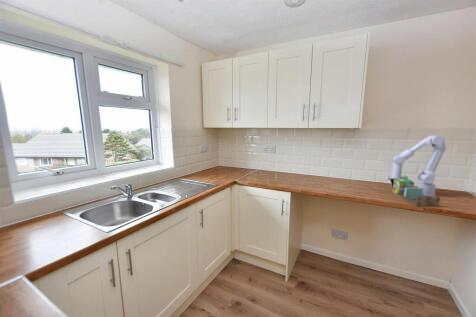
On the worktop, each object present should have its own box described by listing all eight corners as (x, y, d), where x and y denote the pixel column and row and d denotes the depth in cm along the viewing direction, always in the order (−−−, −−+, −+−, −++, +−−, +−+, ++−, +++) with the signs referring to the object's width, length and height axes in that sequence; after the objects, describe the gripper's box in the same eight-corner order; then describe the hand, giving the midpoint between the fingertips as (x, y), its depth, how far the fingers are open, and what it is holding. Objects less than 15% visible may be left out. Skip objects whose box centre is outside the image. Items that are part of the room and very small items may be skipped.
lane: (413, 195, 150) (414, 188, 149) (438, 206, 131) (440, 197, 130) (394, 195, 150) (395, 188, 149) (416, 206, 131) (418, 197, 130)
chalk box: (391, 192, 158) (394, 173, 155) (405, 193, 155) (408, 174, 153) (397, 196, 149) (400, 176, 146) (412, 197, 147) (415, 177, 144)
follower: (418, 198, 144) (420, 187, 143) (420, 199, 142) (422, 188, 141) (403, 198, 144) (404, 187, 143) (405, 199, 142) (406, 188, 141)
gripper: (402, 170, 161) (399, 187, 163) (383, 170, 161) (381, 187, 163) (409, 172, 154) (406, 189, 156) (390, 172, 154) (387, 189, 156)
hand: (394, 188), depth 159 cm, fingers closed
